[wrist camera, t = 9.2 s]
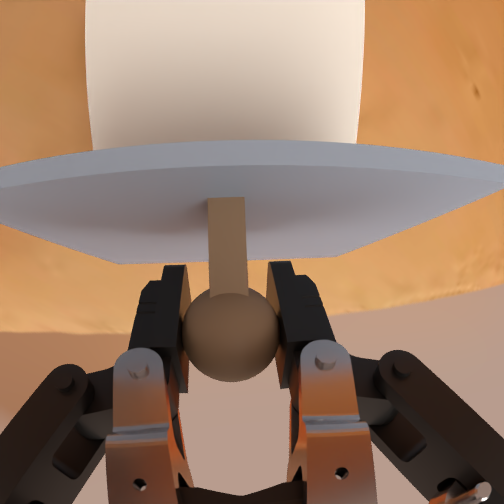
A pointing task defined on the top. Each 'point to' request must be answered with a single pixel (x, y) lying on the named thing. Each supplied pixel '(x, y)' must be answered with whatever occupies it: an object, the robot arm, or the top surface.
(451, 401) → the robot arm
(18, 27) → the top surface
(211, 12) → the carton
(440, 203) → the box lid
